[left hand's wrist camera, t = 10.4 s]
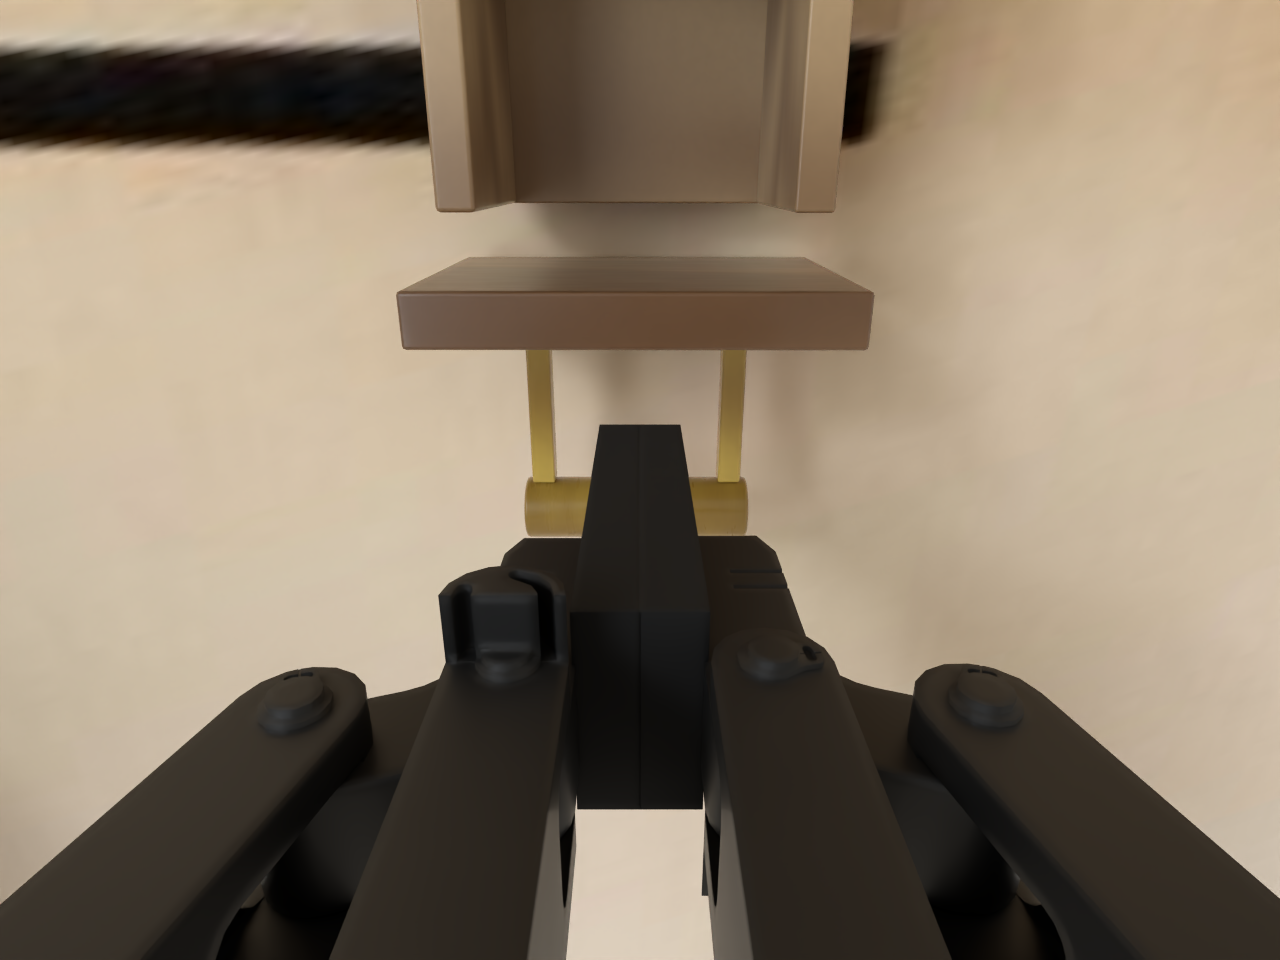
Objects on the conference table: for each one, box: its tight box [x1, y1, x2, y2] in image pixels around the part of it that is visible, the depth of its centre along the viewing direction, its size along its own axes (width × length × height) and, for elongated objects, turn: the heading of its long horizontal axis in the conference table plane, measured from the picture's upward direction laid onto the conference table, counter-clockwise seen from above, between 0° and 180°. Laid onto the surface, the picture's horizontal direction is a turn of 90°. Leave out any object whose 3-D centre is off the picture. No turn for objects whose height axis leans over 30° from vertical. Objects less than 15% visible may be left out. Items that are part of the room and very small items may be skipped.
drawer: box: [396, 0, 874, 537], centre depth 17 cm, size 25×10×7 cm, turn 0°
